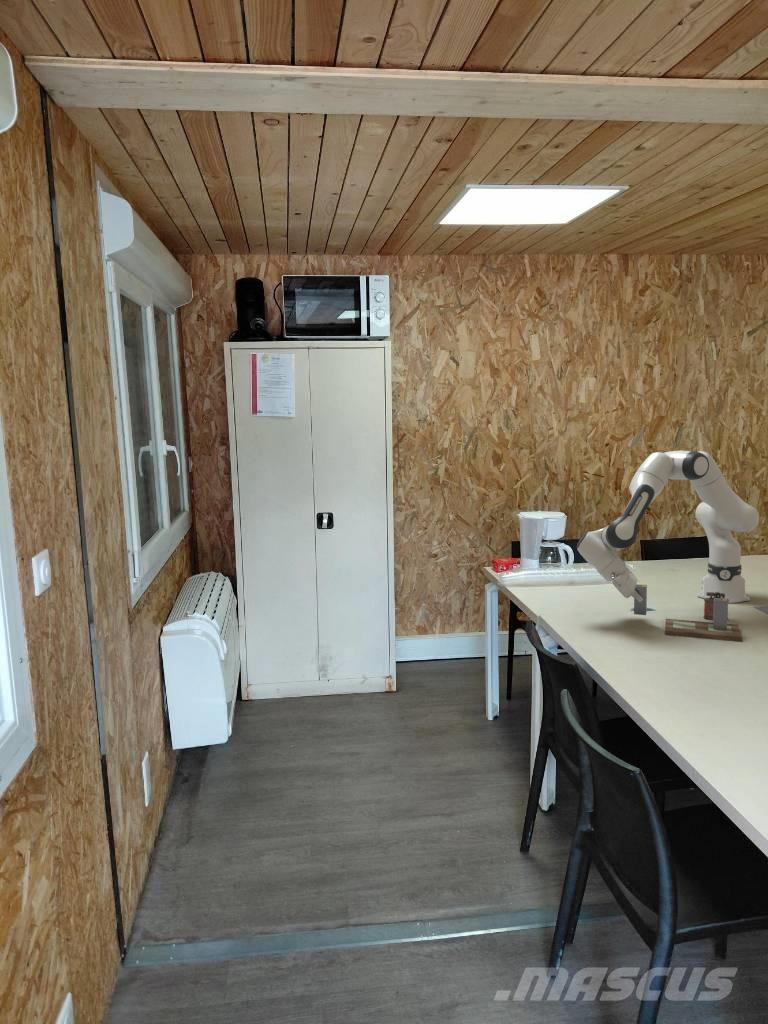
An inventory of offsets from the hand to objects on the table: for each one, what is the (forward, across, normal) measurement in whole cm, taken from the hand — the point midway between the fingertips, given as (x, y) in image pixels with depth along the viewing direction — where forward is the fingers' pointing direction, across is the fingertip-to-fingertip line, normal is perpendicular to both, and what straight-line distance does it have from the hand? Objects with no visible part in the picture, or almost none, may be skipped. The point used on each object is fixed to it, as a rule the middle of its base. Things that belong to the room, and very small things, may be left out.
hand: (642, 598), depth 235 cm
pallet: (+20, -3, -7) cm, 22 cm away
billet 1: (+3, 0, +4) cm, 5 cm away
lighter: (+24, +14, -10) cm, 29 cm away
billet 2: (+23, -3, -12) cm, 26 cm away
